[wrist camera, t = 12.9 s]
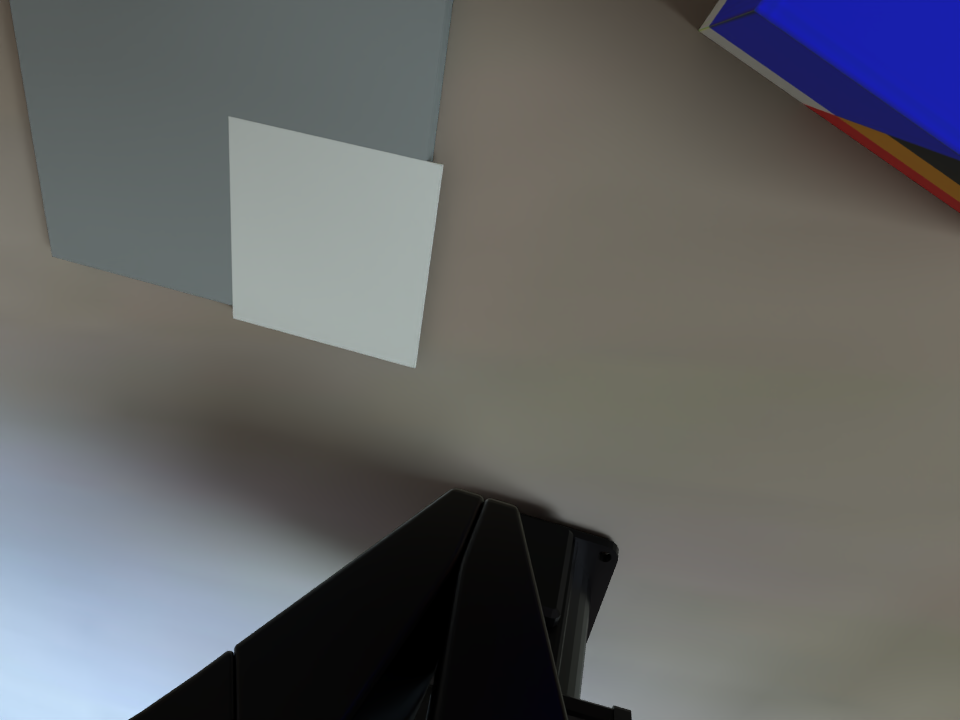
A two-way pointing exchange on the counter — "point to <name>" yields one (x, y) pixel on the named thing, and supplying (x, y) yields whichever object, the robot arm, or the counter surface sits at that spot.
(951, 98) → the puzzle toy
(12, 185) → the counter surface
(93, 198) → the mat
